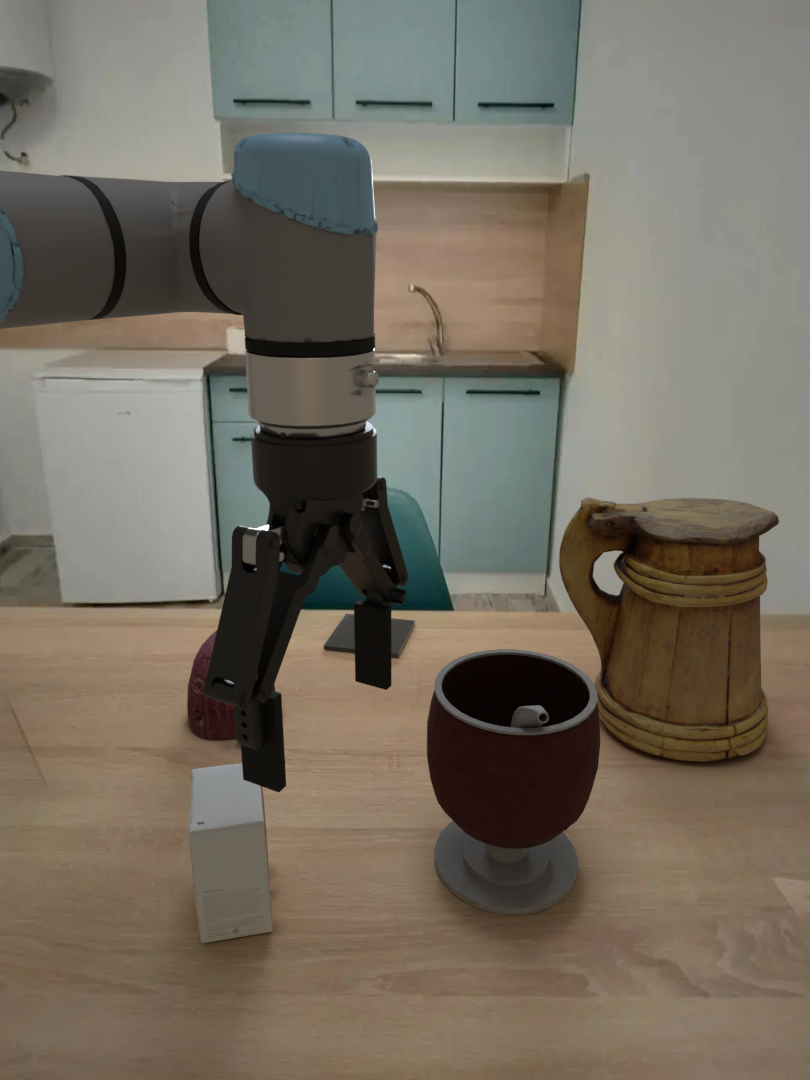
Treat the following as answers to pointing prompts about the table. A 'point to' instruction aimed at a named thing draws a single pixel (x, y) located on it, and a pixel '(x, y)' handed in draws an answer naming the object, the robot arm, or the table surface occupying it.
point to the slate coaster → (345, 636)
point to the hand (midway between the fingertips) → (324, 728)
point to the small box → (228, 854)
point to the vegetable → (208, 701)
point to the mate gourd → (511, 775)
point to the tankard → (675, 622)
